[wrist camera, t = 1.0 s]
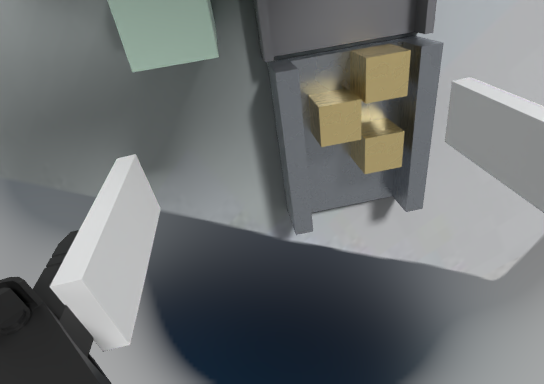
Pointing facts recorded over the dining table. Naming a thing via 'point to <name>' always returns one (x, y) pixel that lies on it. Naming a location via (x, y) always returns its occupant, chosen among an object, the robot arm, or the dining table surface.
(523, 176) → the robot arm
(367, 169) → the tan yellow cube
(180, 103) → the dining table surface
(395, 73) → the dull yellow cube
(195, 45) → the mint t-shaped block
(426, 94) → the slot rail
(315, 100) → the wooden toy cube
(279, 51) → the chip tray
